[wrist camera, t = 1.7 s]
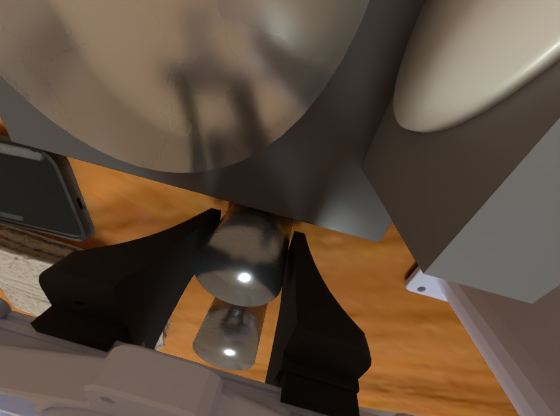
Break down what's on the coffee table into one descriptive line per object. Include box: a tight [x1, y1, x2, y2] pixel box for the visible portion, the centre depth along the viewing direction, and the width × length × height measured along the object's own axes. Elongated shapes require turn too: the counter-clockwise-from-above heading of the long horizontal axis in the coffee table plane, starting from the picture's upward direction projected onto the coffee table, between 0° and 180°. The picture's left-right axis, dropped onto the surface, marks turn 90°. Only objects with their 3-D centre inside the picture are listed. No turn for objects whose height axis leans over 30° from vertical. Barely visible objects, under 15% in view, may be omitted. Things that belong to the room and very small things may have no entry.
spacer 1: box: [193, 202, 292, 307], centre depth 12 cm, size 4×4×5 cm
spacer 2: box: [193, 297, 268, 370], centre depth 16 cm, size 4×4×5 cm
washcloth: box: [0, 223, 170, 351], centre depth 21 cm, size 12×18×3 cm, turn 74°
